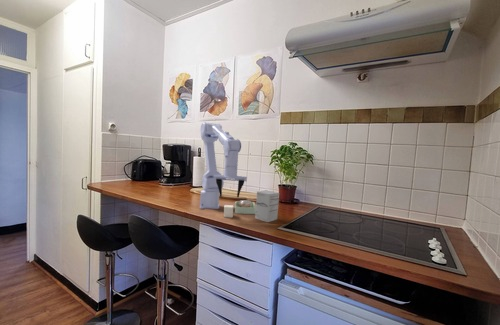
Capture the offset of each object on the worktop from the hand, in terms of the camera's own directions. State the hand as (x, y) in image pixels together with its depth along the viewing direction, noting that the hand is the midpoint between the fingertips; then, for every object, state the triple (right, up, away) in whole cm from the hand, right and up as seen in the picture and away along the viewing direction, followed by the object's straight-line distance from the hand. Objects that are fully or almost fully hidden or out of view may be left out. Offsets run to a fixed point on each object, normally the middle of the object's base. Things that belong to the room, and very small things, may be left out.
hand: (229, 196), depth 105 cm
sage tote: (+7, -9, +12) cm, 16 cm away
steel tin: (+7, -9, +13) cm, 17 cm away
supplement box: (+16, -11, 0) cm, 20 cm away
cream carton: (-1, -9, +1) cm, 9 cm away
